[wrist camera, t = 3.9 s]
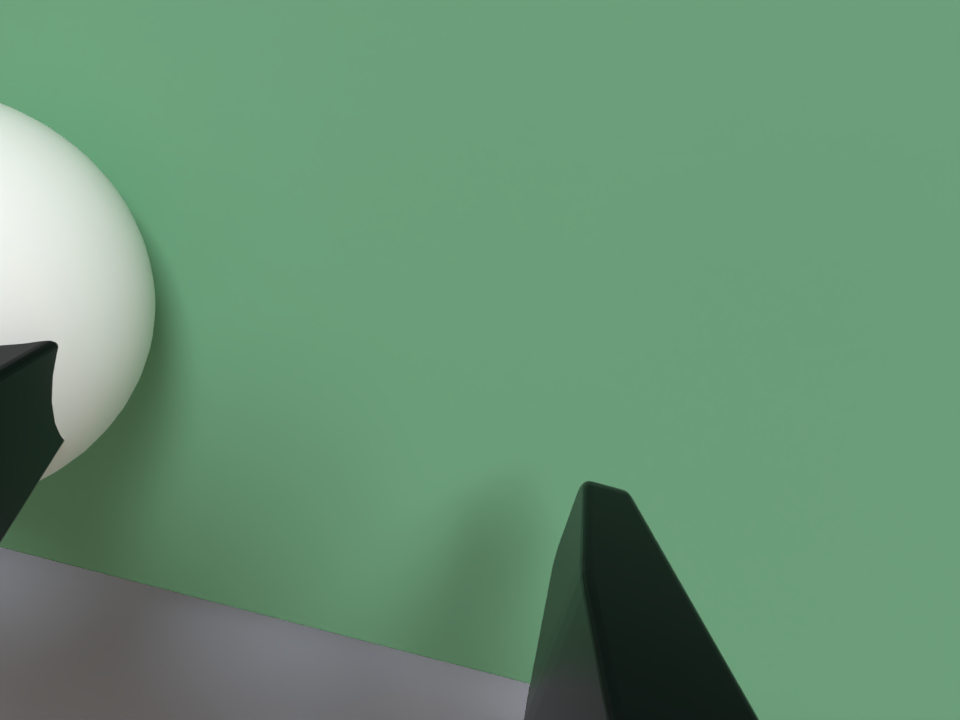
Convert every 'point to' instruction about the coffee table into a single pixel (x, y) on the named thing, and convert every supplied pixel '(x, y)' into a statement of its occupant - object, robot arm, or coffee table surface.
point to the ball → (72, 278)
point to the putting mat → (532, 318)
